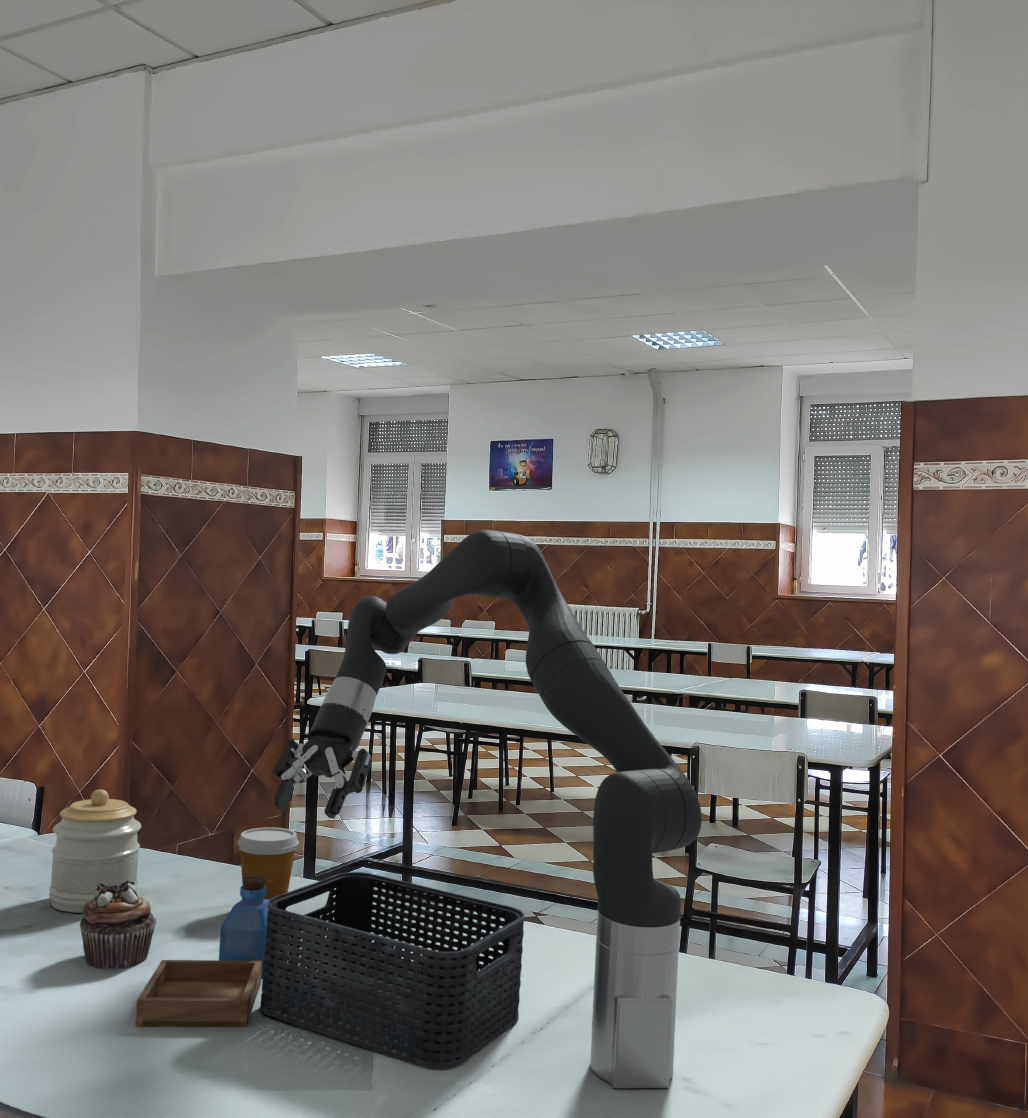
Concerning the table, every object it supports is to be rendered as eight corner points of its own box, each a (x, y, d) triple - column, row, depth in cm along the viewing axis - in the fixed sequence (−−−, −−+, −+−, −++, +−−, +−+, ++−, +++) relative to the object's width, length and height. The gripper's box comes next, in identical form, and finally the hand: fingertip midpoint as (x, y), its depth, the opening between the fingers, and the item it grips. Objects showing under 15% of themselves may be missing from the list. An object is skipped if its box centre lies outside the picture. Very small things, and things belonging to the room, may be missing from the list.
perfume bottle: (278, 961, 139) (283, 874, 140) (263, 978, 133) (268, 887, 133) (235, 957, 140) (240, 870, 140) (217, 974, 134) (223, 883, 134)
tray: (246, 1026, 119) (247, 1001, 119) (135, 1026, 117) (136, 1000, 117) (260, 984, 131) (262, 961, 131) (160, 983, 130) (161, 960, 130)
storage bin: (529, 1016, 126) (534, 908, 126) (448, 1079, 109) (455, 954, 109) (345, 966, 139) (350, 868, 140) (247, 1015, 122) (253, 903, 123)
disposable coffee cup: (228, 903, 163) (233, 828, 163) (287, 898, 167) (292, 825, 167) (239, 922, 154) (243, 843, 154) (301, 917, 158) (305, 839, 158)
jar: (54, 891, 164) (61, 782, 165) (139, 887, 168) (145, 781, 169) (42, 917, 152) (50, 799, 153) (134, 913, 156) (141, 798, 156)
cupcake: (91, 977, 131) (96, 899, 131) (69, 954, 138) (74, 880, 138) (164, 962, 137) (169, 888, 137) (139, 941, 144) (144, 870, 145)
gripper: (294, 696, 154) (250, 793, 145) (375, 705, 149) (335, 807, 140) (315, 721, 160) (274, 816, 151) (394, 730, 154) (356, 830, 145)
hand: (303, 811), depth 145 cm, fingers open, 8 cm apart
